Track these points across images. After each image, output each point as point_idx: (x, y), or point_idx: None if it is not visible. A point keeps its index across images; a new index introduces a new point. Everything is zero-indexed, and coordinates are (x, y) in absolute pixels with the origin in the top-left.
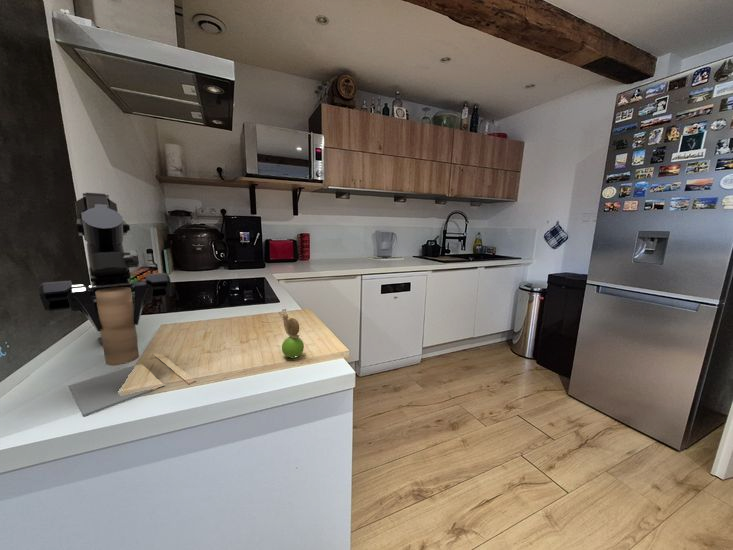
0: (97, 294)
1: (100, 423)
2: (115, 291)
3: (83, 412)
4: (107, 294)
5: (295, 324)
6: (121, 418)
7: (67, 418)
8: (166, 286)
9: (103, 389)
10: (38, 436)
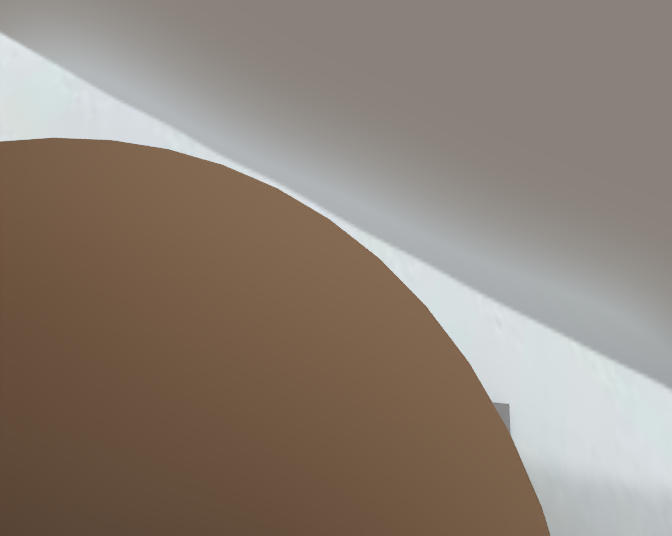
0: (530, 510)
1: (468, 301)
2: (38, 315)
3: (506, 424)
4: (311, 235)
5: None
6: (408, 273)
7: (555, 452)
8: None
9: None
10: (642, 395)
